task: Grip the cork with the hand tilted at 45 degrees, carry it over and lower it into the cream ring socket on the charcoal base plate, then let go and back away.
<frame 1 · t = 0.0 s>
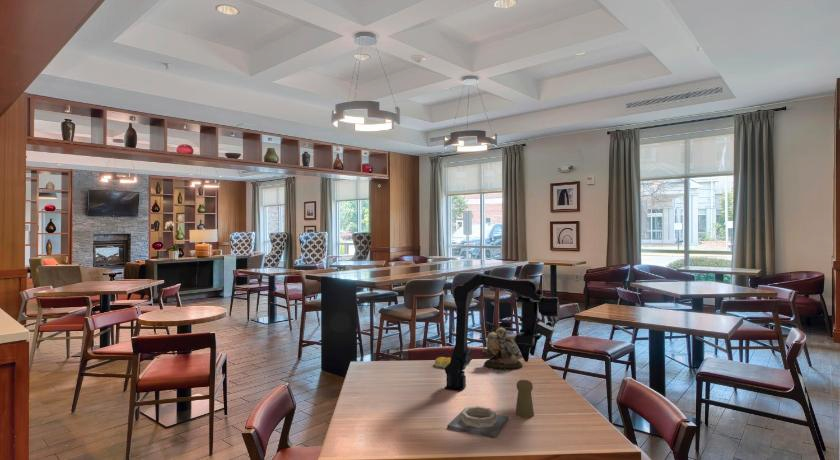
hand: (529, 358, 169), 15 cm above the table, tool pointing down, fingers open, 9 cm apart
socket: (478, 423, 148), on the table
cork: (524, 414, 155), on the table
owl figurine: (502, 366, 210), on the table
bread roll: (444, 366, 210), on the table
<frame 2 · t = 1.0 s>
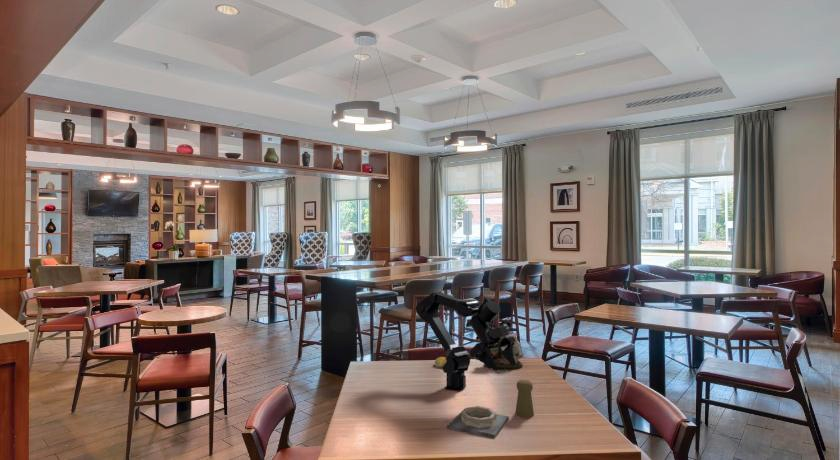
hand: (506, 368, 162), 13 cm above the table, tool tilted 45°, fingers open, 9 cm apart
nothing on the table moved.
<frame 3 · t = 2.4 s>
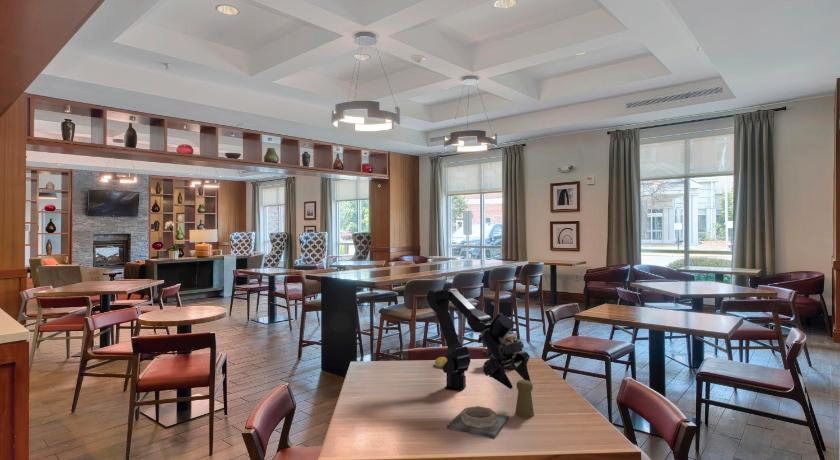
hand: (520, 385, 157), 9 cm above the table, tool tilted 45°, fingers open, 9 cm apart
nothing on the table moved.
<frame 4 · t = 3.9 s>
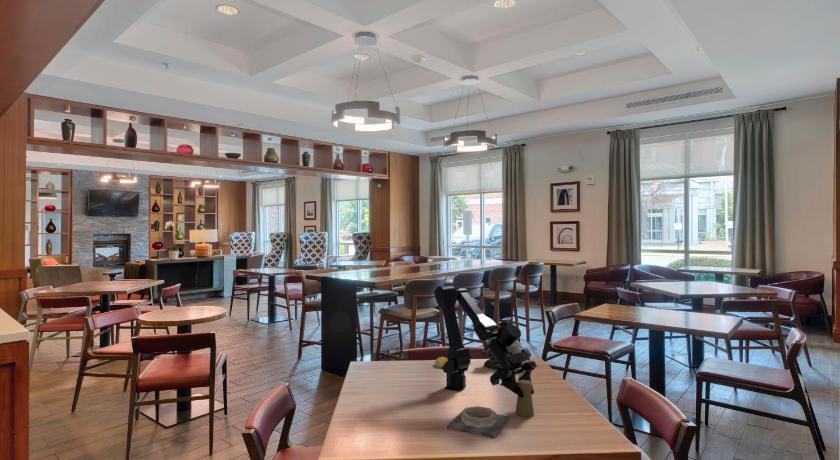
hand: (528, 395, 154), 7 cm above the table, tool tilted 45°, fingers closed on cork, 5 cm apart
cork: (524, 414, 155), on the table, touching gripper
everything else where it was.
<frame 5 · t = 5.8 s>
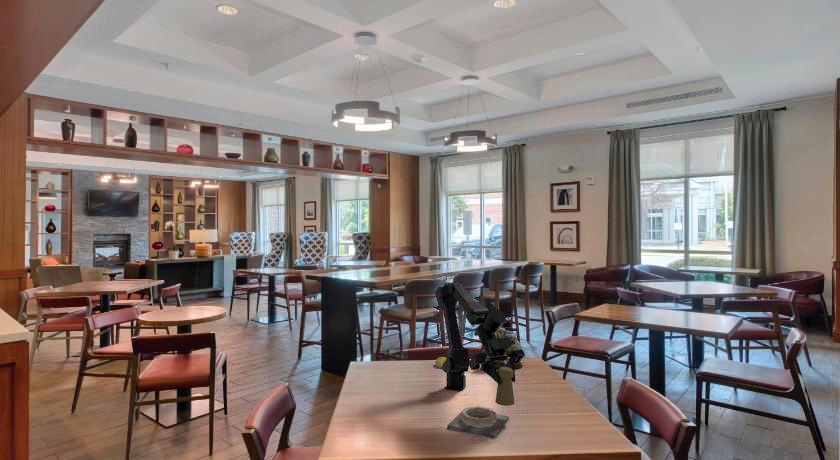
hand: (507, 382, 149), 12 cm above the table, tool tilted 45°, fingers closed on cork, 5 cm apart
cork: (504, 402, 151), point 5 cm above the table, touching gripper
everything else where it was.
when the fingers open (9 cm above the table, at t = 7.7 s): cork drops 1 cm, resting on socket.
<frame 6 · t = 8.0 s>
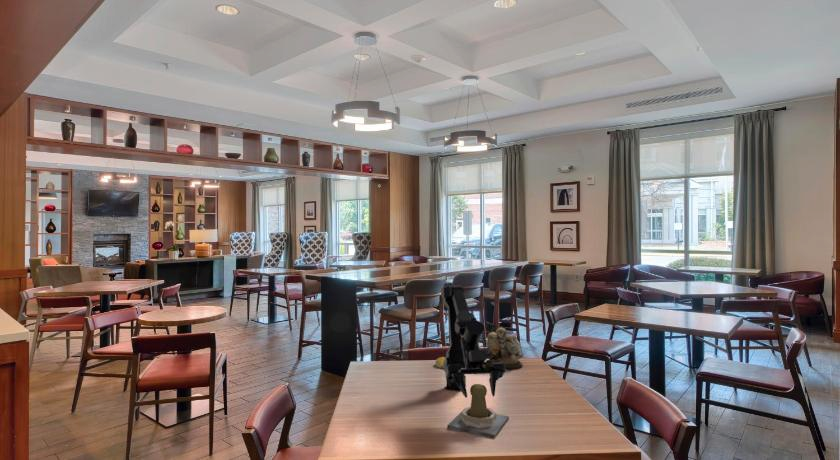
hand: (480, 396, 146), 9 cm above the table, tool tilted 45°, fingers open, 8 cm apart
cork: (478, 420, 148), point 1 cm above the table, touching socket
everything else where it was.
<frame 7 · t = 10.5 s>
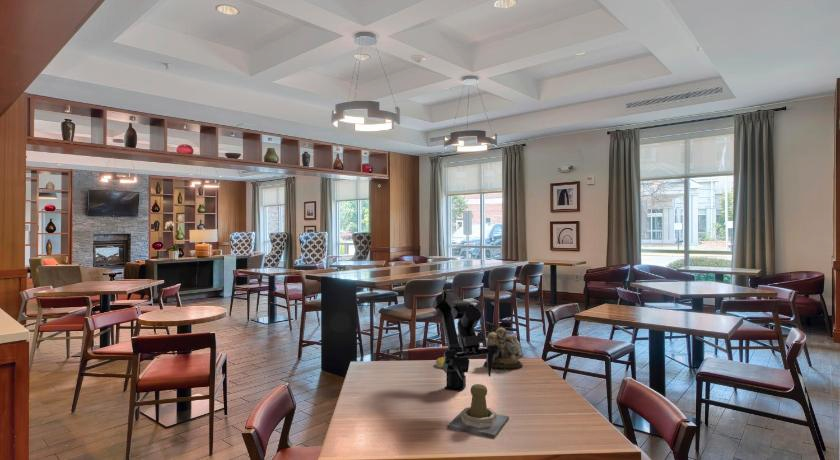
hand: (476, 377, 157), 11 cm above the table, tool tilted 40°, fingers open, 9 cm apart
nothing on the table moved.
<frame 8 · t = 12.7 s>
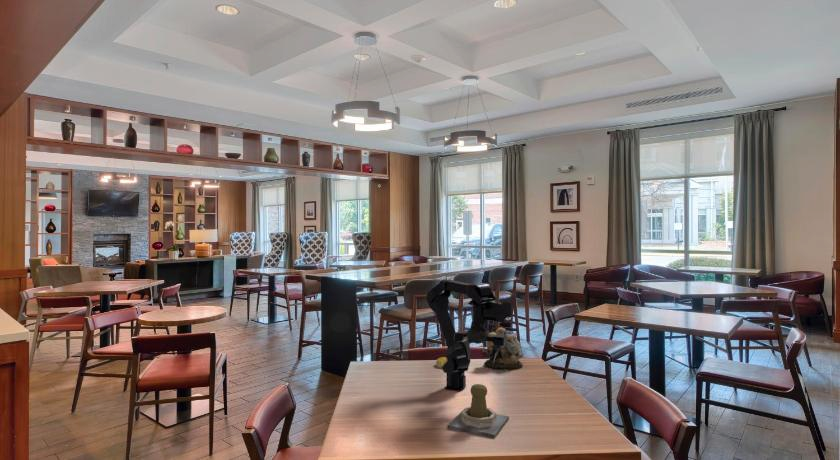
hand: (480, 361, 170), 13 cm above the table, tool pointing down, fingers open, 9 cm apart
nothing on the table moved.
at the end: cork 0.2 cm off-centre on the socket, point 0.8 cm above the socket's base; cork tilted 0°; the gripper is holding nothing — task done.
